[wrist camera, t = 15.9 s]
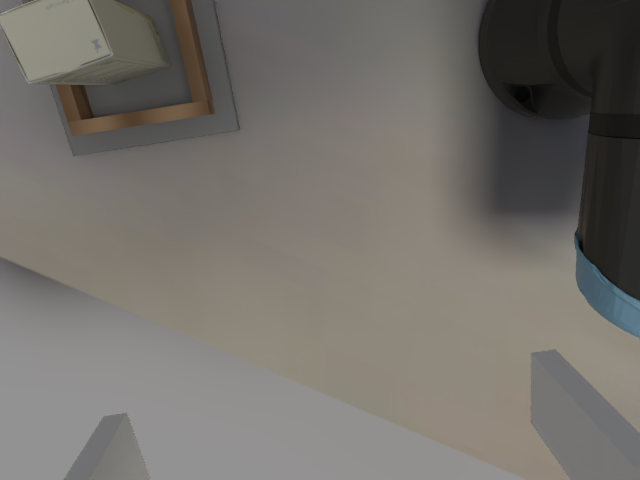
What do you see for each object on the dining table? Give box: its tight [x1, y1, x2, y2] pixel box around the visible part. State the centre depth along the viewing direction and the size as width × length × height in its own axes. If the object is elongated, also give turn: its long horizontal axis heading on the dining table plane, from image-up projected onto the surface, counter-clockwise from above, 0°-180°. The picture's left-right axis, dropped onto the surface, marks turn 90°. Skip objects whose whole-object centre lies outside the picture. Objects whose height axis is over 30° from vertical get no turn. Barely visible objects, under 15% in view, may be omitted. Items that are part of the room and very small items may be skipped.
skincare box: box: [0, 0, 170, 85], centre depth 32 cm, size 6×4×12 cm
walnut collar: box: [28, 0, 216, 136], centre depth 37 cm, size 12×12×2 cm
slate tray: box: [22, 0, 240, 156], centre depth 39 cm, size 16×16×1 cm
